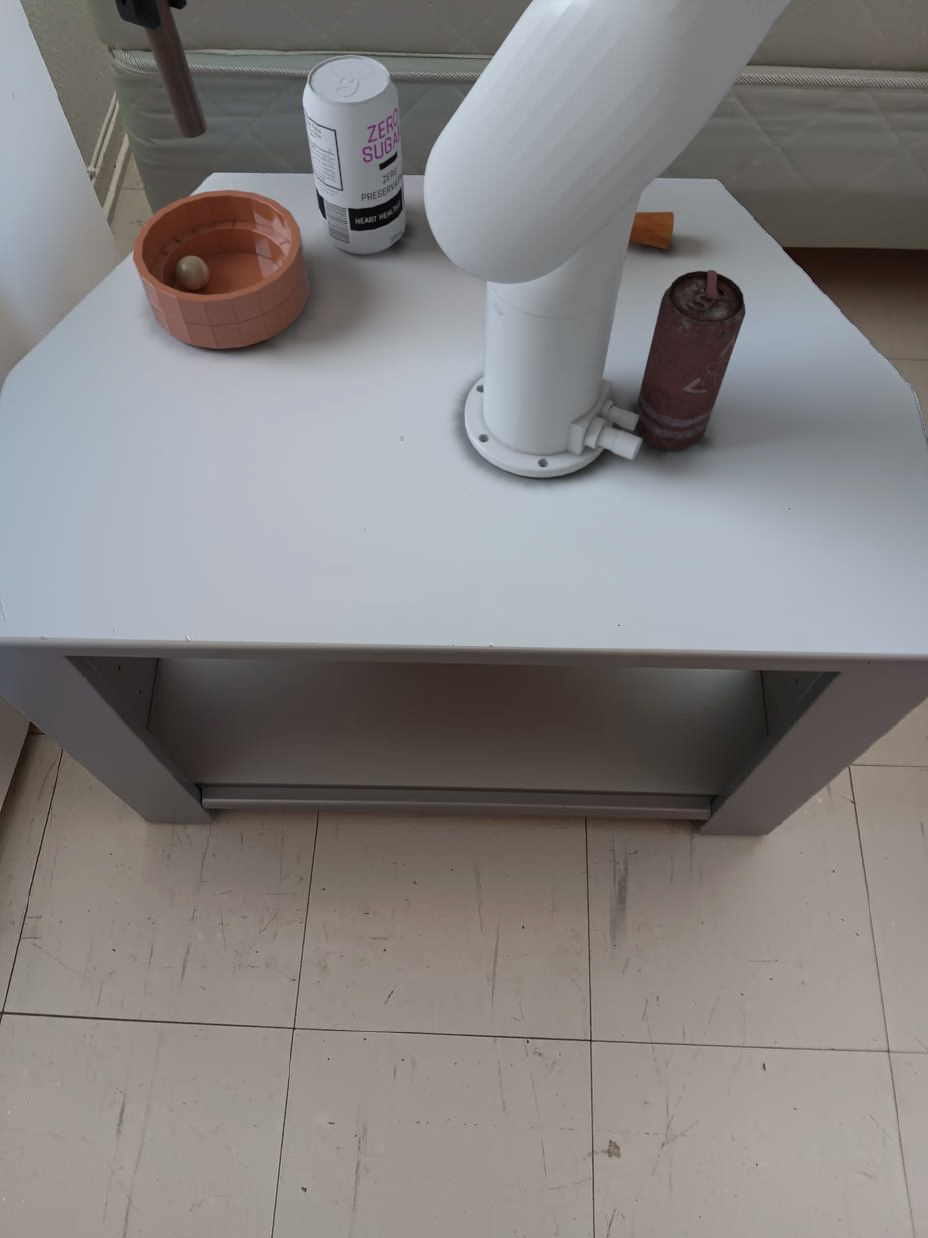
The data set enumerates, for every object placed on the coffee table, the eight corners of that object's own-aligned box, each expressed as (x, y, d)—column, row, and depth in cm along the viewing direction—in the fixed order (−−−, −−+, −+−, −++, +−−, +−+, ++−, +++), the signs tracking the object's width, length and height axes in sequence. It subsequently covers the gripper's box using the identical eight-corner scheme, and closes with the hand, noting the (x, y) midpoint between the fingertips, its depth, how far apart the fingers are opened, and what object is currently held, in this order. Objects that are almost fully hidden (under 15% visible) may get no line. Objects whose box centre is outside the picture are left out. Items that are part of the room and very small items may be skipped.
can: (703, 399, 80) (746, 266, 68) (705, 456, 77) (751, 327, 65) (633, 394, 80) (663, 261, 68) (632, 450, 77) (664, 321, 65)
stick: (212, 125, 72) (149, -86, 60) (196, 140, 71) (129, -71, 59) (189, 119, 72) (122, -90, 60) (173, 135, 71) (102, -76, 59)
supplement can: (333, 199, 93) (313, 46, 80) (413, 209, 92) (405, 56, 79) (313, 252, 89) (288, 100, 76) (396, 262, 88) (385, 111, 75)
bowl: (339, 275, 88) (331, 221, 82) (251, 374, 81) (236, 322, 76) (214, 227, 91) (199, 171, 86) (120, 319, 85) (98, 265, 79)
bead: (216, 291, 86) (193, 291, 83) (193, 288, 87) (169, 288, 85) (215, 256, 85) (191, 256, 82) (192, 254, 86) (167, 253, 83)
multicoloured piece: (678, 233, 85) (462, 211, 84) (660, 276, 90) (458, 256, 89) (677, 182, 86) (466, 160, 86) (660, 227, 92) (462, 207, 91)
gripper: (1, -298, 44) (124, 86, 60) (201, -393, 51) (263, -26, 67) (-114, -325, 46) (36, 55, 62) (95, -413, 53) (181, -51, 69)
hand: (153, 10), depth 64 cm, fingers closed on stick, 2 cm apart
